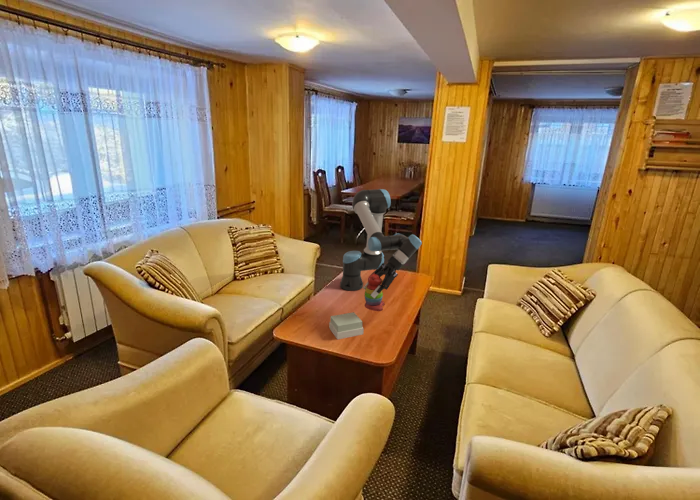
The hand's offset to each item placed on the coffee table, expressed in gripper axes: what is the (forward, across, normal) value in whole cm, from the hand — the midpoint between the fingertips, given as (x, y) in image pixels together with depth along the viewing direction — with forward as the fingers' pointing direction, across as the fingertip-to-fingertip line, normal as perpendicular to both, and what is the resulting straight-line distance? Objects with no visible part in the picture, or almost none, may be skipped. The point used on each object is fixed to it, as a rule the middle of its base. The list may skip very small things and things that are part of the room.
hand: (368, 293), depth 193 cm
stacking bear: (+3, 0, -8) cm, 9 cm away
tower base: (+22, -2, -4) cm, 23 cm away
